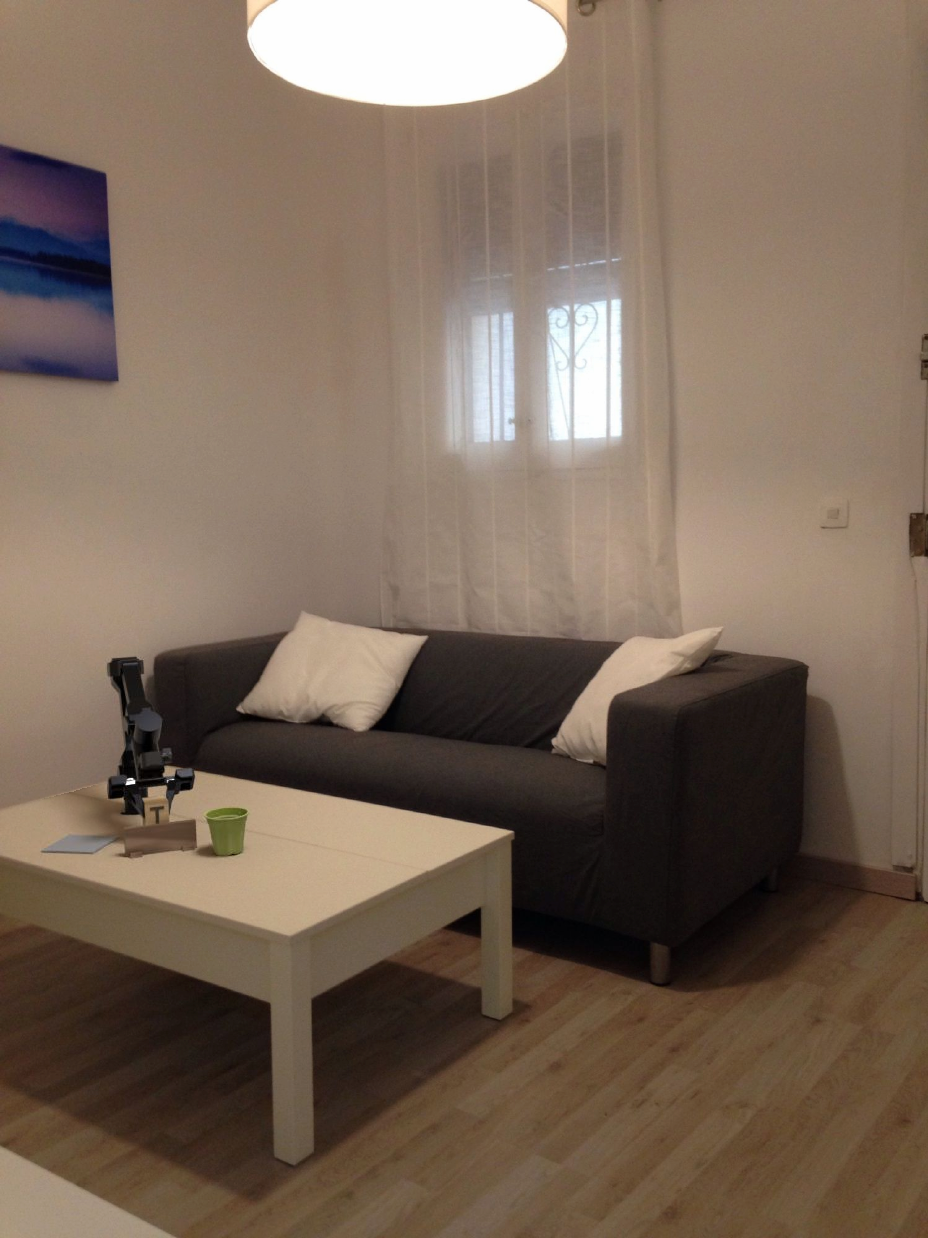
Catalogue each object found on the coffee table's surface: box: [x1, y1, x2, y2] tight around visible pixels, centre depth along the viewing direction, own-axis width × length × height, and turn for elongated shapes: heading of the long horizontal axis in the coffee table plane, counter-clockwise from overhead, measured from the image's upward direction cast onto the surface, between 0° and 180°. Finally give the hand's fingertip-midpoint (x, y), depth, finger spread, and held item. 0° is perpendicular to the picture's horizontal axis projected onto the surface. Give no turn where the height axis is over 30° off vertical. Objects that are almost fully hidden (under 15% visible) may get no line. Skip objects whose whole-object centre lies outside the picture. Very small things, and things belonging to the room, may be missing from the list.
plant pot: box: [203, 806, 250, 857], centre depth 241 cm, size 9×9×9 cm
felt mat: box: [41, 834, 120, 855], centre depth 248 cm, size 12×12×1 cm
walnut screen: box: [123, 818, 198, 859], centre depth 242 cm, size 4×15×6 cm, turn 114°
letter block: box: [142, 794, 170, 826], centre depth 248 cm, size 5×5×10 cm
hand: (156, 815), depth 246 cm, fingers closed on letter block, 5 cm apart
